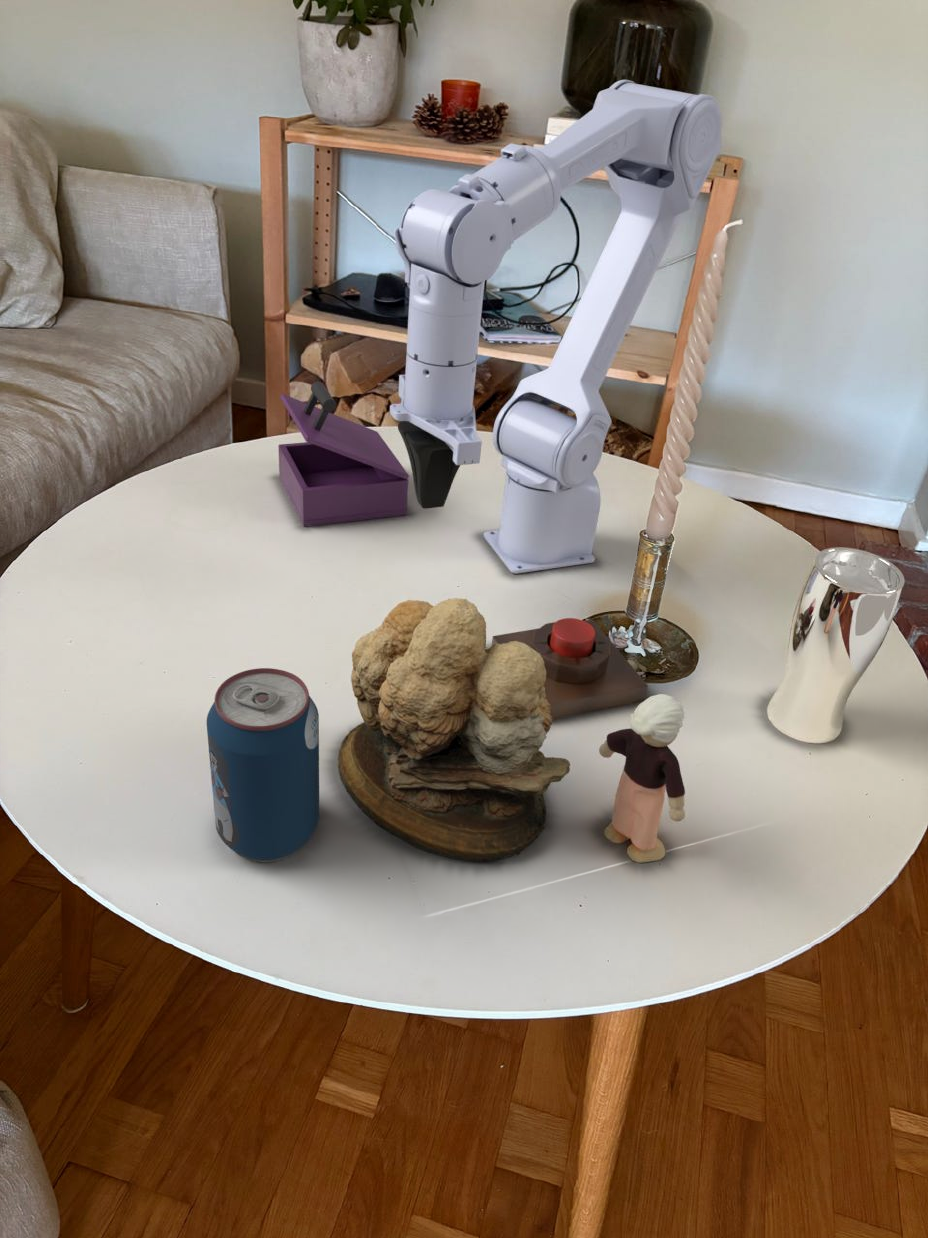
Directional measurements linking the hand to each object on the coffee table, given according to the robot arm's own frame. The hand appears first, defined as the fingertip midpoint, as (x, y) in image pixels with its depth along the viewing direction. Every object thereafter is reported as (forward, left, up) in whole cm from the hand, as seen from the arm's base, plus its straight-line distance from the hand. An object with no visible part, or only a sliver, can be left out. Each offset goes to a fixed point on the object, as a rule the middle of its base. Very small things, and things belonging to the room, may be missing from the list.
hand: (430, 504), depth 85 cm
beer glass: (-25, +25, -11) cm, 37 cm away
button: (-8, +14, -7) cm, 18 cm away
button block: (-8, +14, -10) cm, 19 cm away
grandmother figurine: (-4, +32, -11) cm, 34 cm away
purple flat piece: (+2, -22, -3) cm, 22 cm away
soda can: (+20, +24, -11) cm, 33 cm away
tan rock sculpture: (+7, +24, -11) cm, 27 cm away
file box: (+2, -22, -10) cm, 24 cm away
